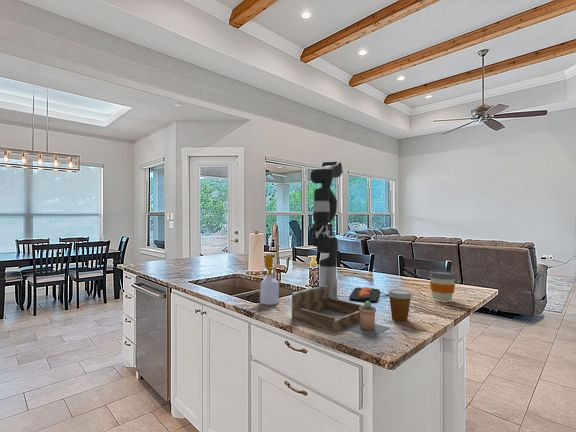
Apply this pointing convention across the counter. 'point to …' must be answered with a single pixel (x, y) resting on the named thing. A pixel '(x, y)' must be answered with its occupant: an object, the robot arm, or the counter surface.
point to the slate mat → (373, 333)
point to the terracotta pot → (367, 316)
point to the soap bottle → (269, 284)
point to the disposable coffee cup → (399, 304)
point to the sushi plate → (366, 294)
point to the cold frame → (317, 300)
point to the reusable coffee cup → (442, 284)
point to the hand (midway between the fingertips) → (321, 245)
